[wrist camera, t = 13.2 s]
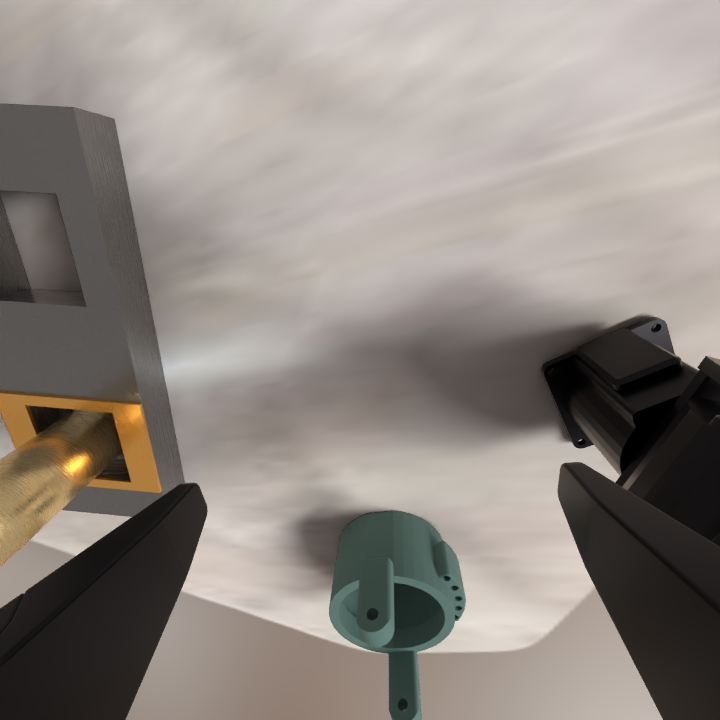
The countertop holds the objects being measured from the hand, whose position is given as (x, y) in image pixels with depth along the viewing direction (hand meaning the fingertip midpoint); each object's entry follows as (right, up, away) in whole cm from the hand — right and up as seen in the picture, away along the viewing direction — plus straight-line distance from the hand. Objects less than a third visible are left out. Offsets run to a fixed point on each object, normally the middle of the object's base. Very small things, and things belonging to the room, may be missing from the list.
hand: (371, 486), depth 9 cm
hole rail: (-17, +4, +14) cm, 22 cm away
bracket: (+3, -12, +20) cm, 23 cm away
